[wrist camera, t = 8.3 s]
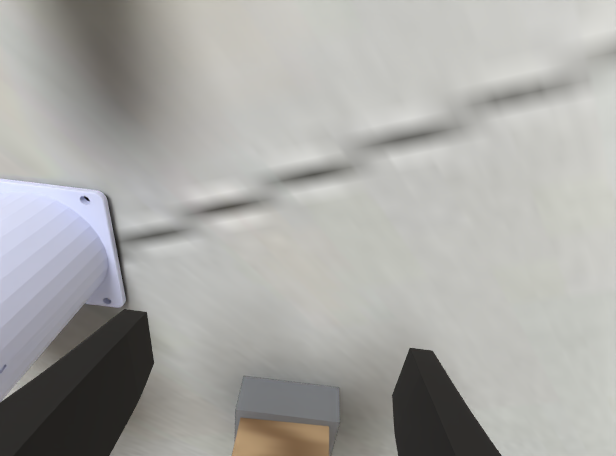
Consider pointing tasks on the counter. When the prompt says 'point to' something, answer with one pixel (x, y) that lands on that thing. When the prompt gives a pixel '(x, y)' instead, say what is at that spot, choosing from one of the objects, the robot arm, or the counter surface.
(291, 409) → the tower base
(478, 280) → the counter surface
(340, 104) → the counter surface
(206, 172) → the counter surface
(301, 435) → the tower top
